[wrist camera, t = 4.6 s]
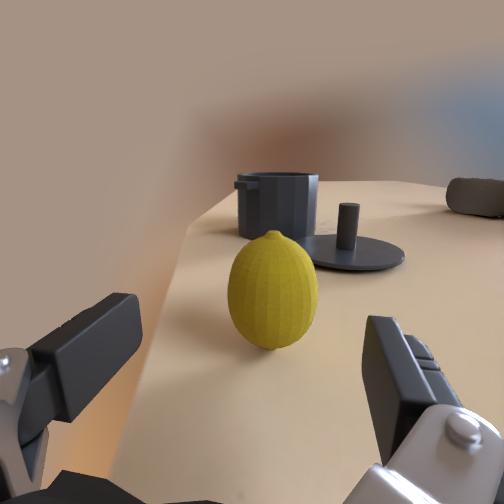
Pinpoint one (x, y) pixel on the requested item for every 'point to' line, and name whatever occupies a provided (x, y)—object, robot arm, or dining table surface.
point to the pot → (277, 204)
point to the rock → (476, 196)
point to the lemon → (272, 291)
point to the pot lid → (350, 246)
